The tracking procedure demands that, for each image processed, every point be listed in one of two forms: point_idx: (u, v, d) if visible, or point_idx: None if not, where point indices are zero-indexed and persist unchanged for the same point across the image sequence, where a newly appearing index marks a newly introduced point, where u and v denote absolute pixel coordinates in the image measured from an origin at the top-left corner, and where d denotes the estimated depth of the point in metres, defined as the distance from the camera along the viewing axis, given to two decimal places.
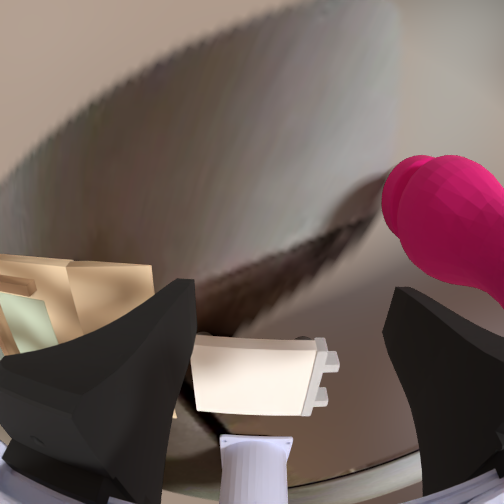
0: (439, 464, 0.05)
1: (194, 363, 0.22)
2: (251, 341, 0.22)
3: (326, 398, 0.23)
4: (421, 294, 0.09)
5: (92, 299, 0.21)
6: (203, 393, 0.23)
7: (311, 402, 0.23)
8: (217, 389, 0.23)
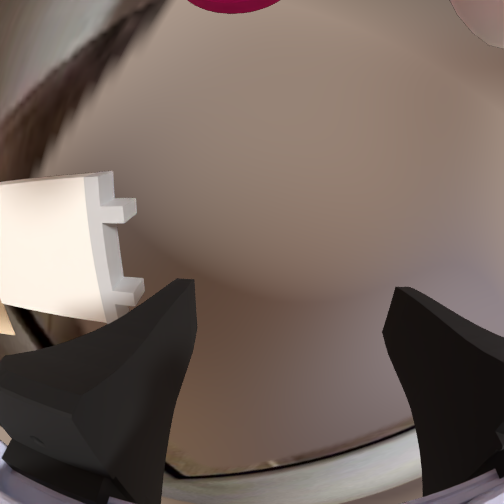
0: (439, 464, 0.05)
1: None
2: (26, 179, 0.13)
3: (132, 290, 0.15)
4: (421, 294, 0.09)
5: None
6: None
7: (109, 293, 0.14)
8: (5, 261, 0.14)
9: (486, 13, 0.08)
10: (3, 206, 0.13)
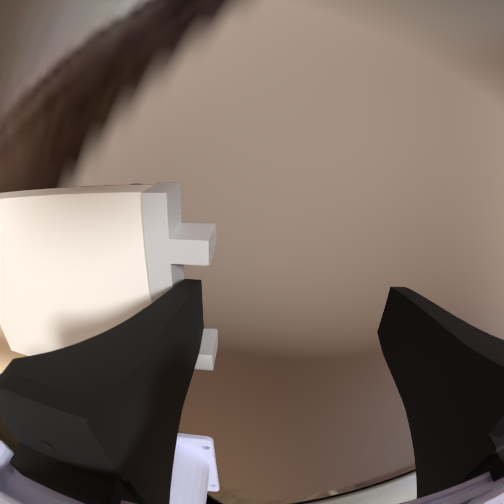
0: (433, 466, 0.05)
1: None
2: (40, 190, 0.09)
3: (209, 350, 0.11)
4: (416, 293, 0.09)
5: None
6: (2, 311, 0.11)
7: None
8: (13, 303, 0.10)
9: None
10: (6, 229, 0.09)
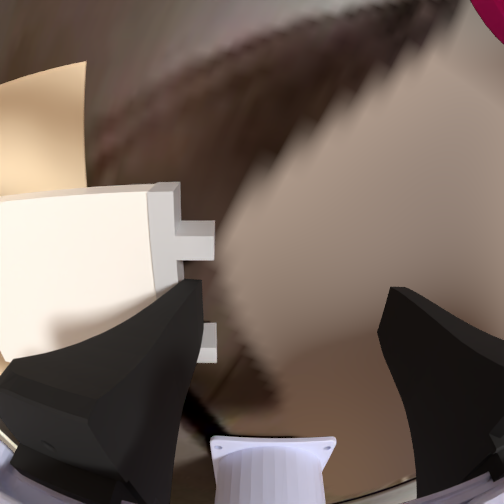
0: (433, 466, 0.05)
1: None
2: (35, 193, 0.09)
3: (212, 343, 0.11)
4: (416, 294, 0.09)
5: None
6: None
7: None
8: (8, 311, 0.10)
9: None
10: (0, 234, 0.09)
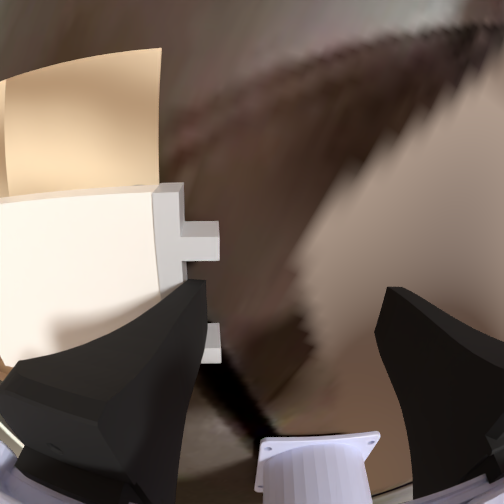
0: (429, 467, 0.05)
1: None
2: (36, 194, 0.09)
3: (216, 343, 0.11)
4: (413, 294, 0.09)
5: (36, 136, 0.09)
6: None
7: None
8: (8, 314, 0.10)
9: None
10: (0, 237, 0.08)
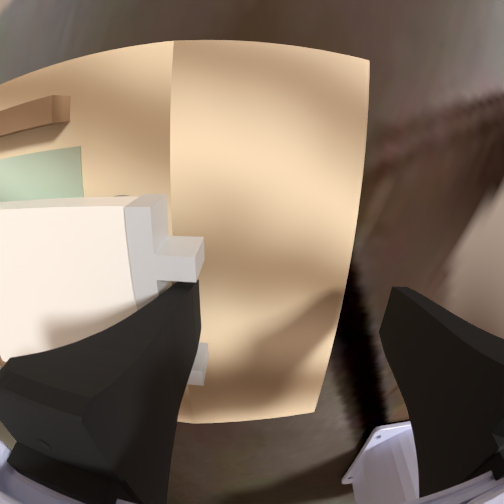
0: (435, 465, 0.05)
1: None
2: (24, 201, 0.09)
3: (199, 365, 0.10)
4: (418, 294, 0.09)
5: (224, 119, 0.09)
6: None
7: None
8: (2, 314, 0.10)
9: None
10: None
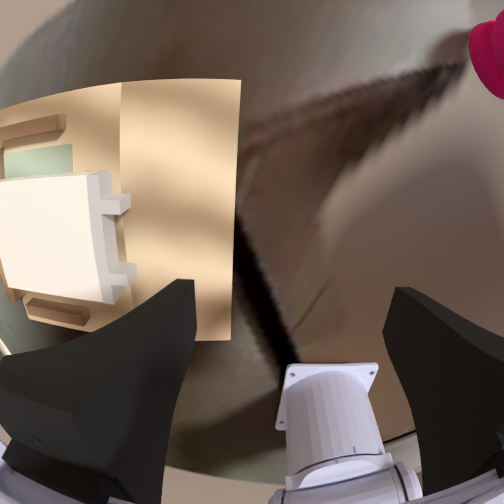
0: (439, 464, 0.05)
1: None
2: (35, 176, 0.15)
3: (126, 272, 0.17)
4: (421, 294, 0.09)
5: (149, 127, 0.16)
6: (5, 256, 0.16)
7: (106, 275, 0.17)
8: (13, 248, 0.16)
9: None
10: (13, 199, 0.15)
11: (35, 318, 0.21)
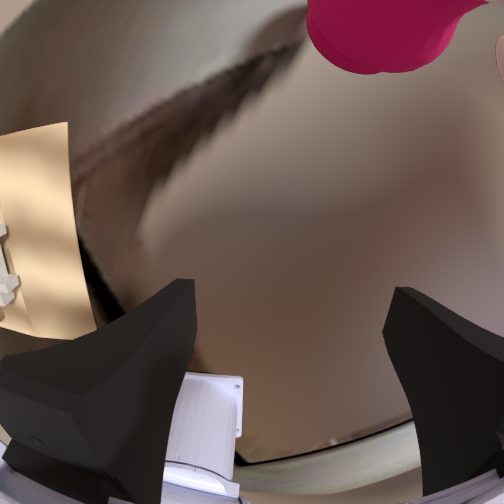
0: (439, 464, 0.05)
1: None
2: None
3: (6, 282, 0.18)
4: (421, 294, 0.09)
5: (13, 170, 0.17)
6: None
7: None
8: None
9: None
10: None
11: None
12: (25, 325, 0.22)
